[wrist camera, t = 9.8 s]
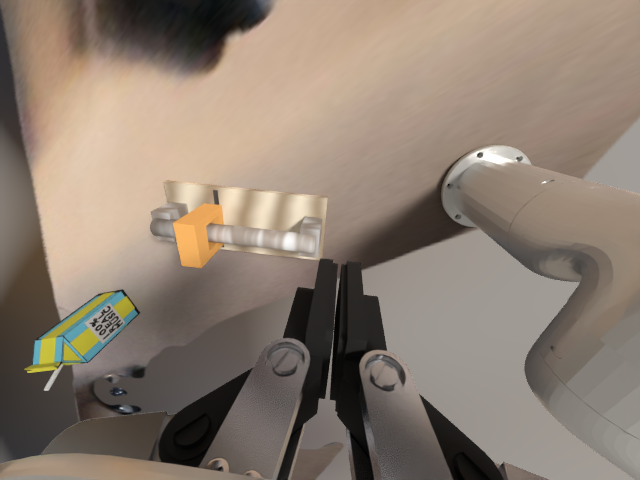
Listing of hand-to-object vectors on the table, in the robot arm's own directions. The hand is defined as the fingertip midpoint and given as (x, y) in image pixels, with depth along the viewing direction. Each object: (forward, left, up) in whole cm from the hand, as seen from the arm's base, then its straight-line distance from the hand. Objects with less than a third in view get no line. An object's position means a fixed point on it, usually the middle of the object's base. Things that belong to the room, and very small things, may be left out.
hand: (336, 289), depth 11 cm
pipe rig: (+16, +12, -32) cm, 38 cm away
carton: (+48, +37, -32) cm, 69 cm away
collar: (+21, +12, -29) cm, 38 cm away
